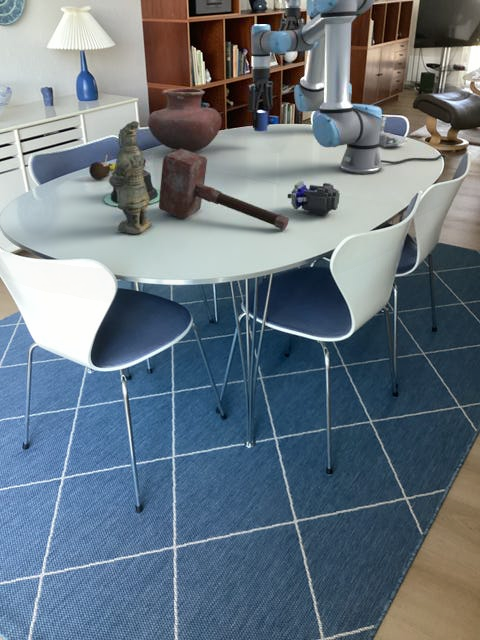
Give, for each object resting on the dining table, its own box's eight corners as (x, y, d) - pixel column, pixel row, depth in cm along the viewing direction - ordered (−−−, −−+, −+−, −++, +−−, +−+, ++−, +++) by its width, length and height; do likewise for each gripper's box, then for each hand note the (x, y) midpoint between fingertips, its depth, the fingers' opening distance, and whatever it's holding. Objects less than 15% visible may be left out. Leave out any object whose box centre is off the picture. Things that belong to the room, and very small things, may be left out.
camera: (379, 113, 243) (410, 118, 235) (376, 141, 250) (406, 146, 241) (369, 117, 238) (400, 121, 229) (366, 144, 244) (396, 150, 235)
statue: (131, 220, 168) (117, 116, 152) (158, 224, 164) (147, 118, 149) (109, 233, 159) (93, 124, 144) (138, 237, 156) (124, 126, 140)
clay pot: (228, 143, 251) (226, 84, 239) (213, 161, 226) (210, 95, 213) (163, 142, 256) (158, 84, 243) (142, 159, 231) (135, 95, 218)
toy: (295, 178, 172) (342, 184, 166) (295, 205, 177) (340, 211, 171) (285, 186, 166) (333, 192, 160) (284, 213, 170) (331, 220, 164)
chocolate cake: (91, 202, 180) (113, 186, 197) (142, 231, 182) (160, 212, 199) (107, 162, 172) (129, 148, 190) (160, 192, 174) (177, 176, 192)
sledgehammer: (299, 190, 156) (179, 147, 167) (285, 200, 148) (161, 154, 160) (286, 244, 166) (174, 200, 177) (272, 256, 158) (156, 209, 170)
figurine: (152, 155, 217) (104, 161, 197) (152, 175, 220) (105, 183, 201) (127, 151, 223) (79, 157, 204) (128, 170, 226) (80, 177, 207)
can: (267, 128, 240) (267, 110, 236) (266, 131, 235) (266, 112, 231) (254, 128, 240) (254, 110, 237) (253, 131, 235) (253, 112, 232)
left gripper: (269, 7, 273) (269, 54, 284) (305, 7, 257) (304, 57, 267) (280, 6, 277) (280, 53, 288) (317, 7, 261) (314, 56, 271)
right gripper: (268, 64, 233) (268, 121, 245) (238, 69, 221) (239, 129, 233) (282, 65, 229) (281, 124, 241) (252, 70, 217) (252, 131, 229)
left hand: (291, 55), depth 278 cm, fingers open, 13 cm apart
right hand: (260, 126), depth 237 cm, fingers closed on can, 6 cm apart
